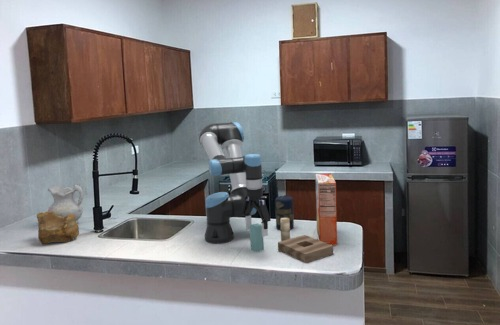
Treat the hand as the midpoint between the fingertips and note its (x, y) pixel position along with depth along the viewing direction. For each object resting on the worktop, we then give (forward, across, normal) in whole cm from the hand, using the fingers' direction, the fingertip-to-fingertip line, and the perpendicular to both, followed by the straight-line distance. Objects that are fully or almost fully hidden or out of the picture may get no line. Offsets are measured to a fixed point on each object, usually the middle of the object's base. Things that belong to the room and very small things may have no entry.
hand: (256, 232), depth 212 cm
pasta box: (+9, -7, -37) cm, 39 cm away
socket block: (+9, -16, -15) cm, 24 cm away
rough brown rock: (+8, +82, +76) cm, 112 cm away
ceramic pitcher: (+7, +108, +63) cm, 126 cm away
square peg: (+9, 0, 0) cm, 9 cm away
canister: (+8, +18, -30) cm, 36 cm away
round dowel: (+8, 0, -16) cm, 18 cm away
